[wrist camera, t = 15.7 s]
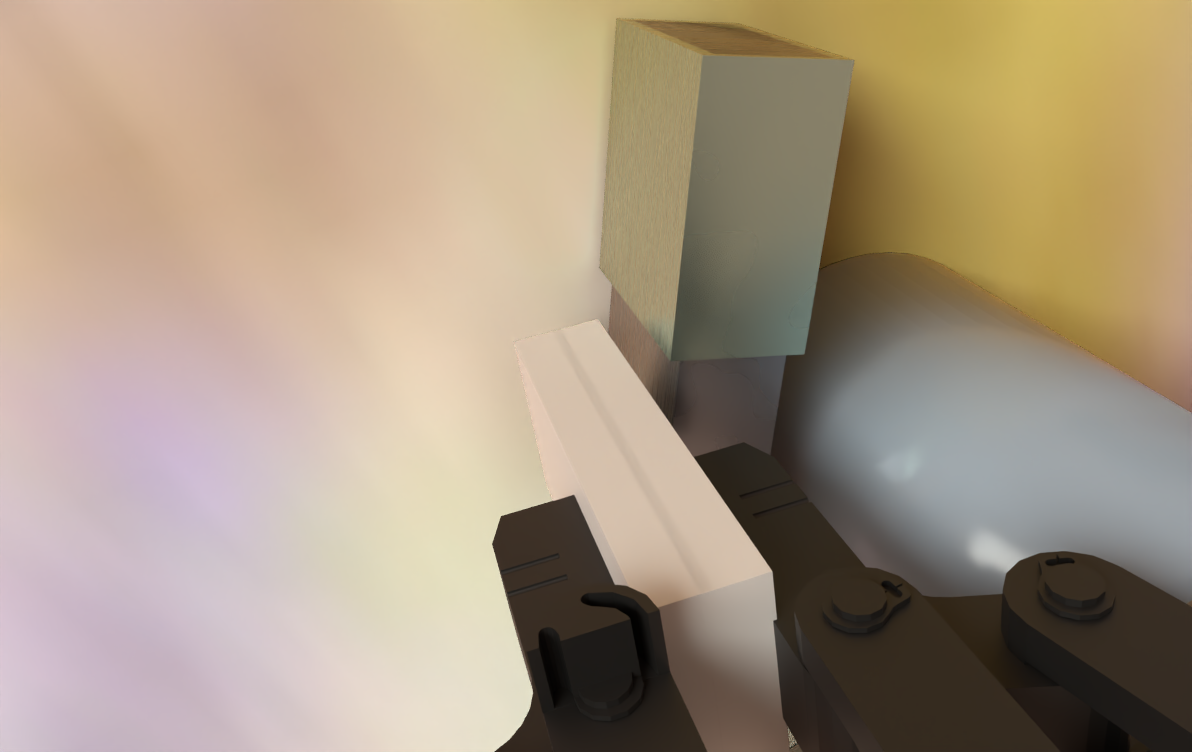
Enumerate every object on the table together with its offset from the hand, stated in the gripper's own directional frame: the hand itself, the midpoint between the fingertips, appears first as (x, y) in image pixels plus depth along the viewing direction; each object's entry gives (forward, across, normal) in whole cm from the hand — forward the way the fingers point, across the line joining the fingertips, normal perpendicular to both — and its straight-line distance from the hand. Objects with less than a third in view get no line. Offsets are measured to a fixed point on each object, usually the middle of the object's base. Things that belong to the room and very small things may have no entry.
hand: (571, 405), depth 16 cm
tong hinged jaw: (+2, +1, -3) cm, 4 cm away
